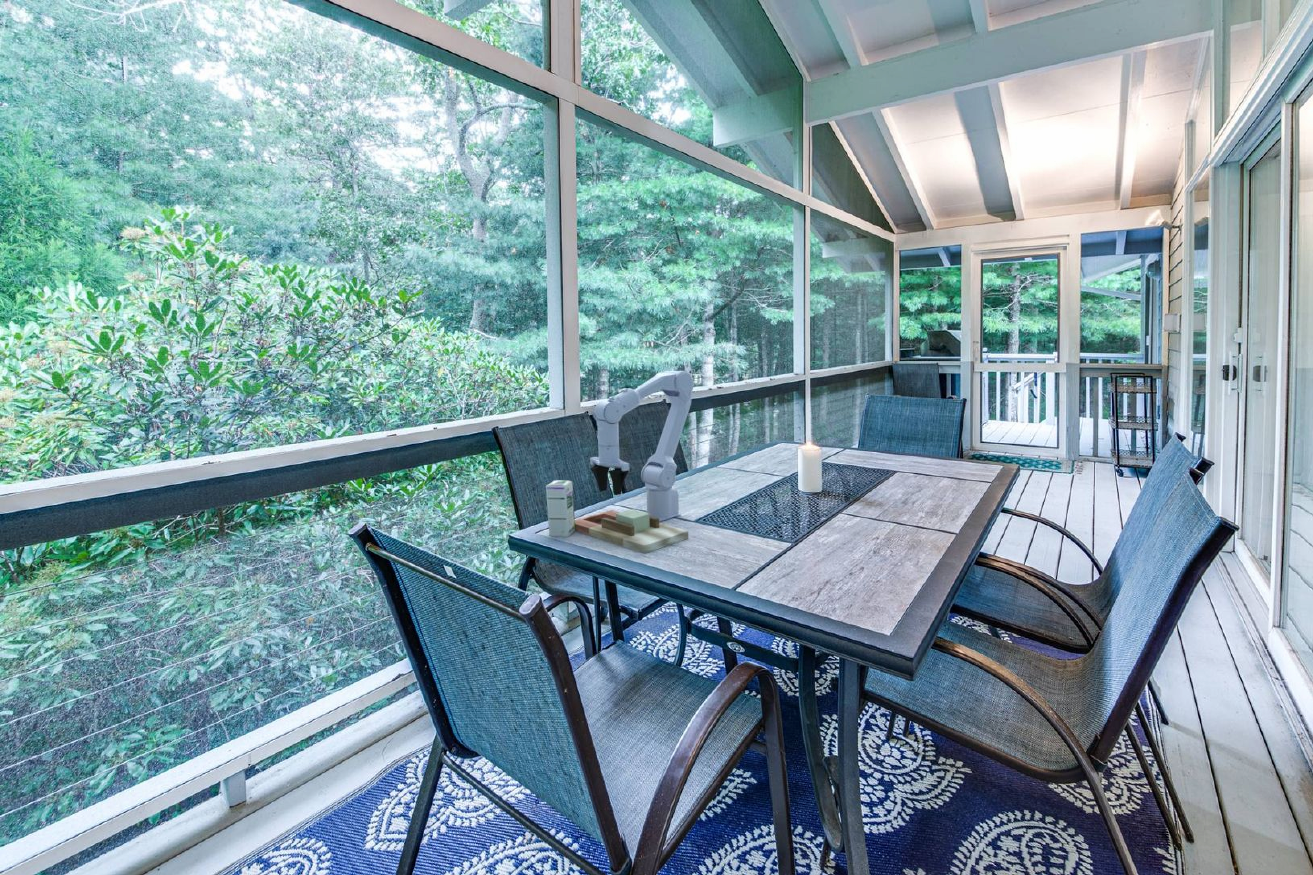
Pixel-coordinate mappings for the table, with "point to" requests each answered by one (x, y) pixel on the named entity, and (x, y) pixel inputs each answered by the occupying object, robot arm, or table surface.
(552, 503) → the syrup box
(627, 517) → the sage block
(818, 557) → the table surface
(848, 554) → the table surface
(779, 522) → the table surface
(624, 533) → the trap track
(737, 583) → the table surface
